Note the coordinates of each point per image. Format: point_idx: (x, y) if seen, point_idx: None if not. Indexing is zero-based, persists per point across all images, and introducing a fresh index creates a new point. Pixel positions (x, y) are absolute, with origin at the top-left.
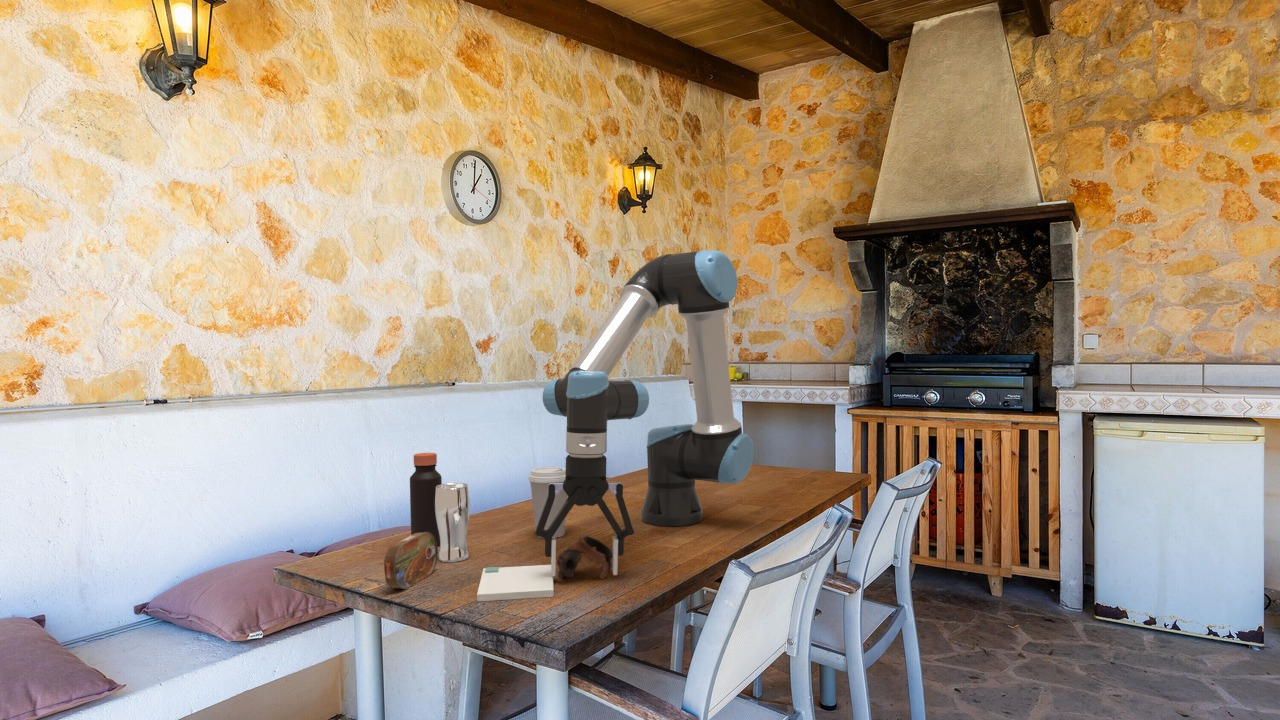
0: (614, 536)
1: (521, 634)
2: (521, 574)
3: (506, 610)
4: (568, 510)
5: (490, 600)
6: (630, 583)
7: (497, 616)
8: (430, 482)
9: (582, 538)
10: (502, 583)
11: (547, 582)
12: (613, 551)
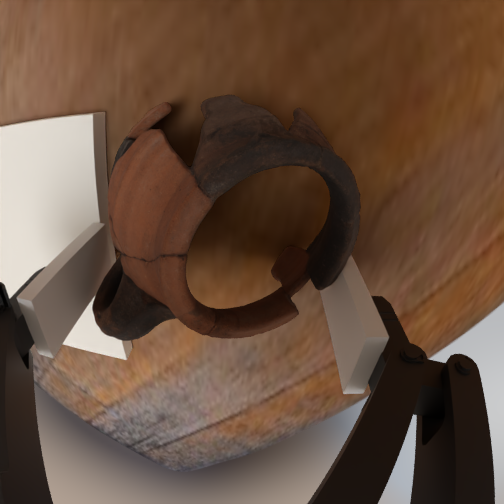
0: (375, 342)
1: (117, 439)
2: (20, 212)
3: (63, 370)
4: (44, 499)
5: None
6: None
7: (60, 384)
8: None
9: (174, 283)
10: (5, 275)
11: None
12: (336, 339)
